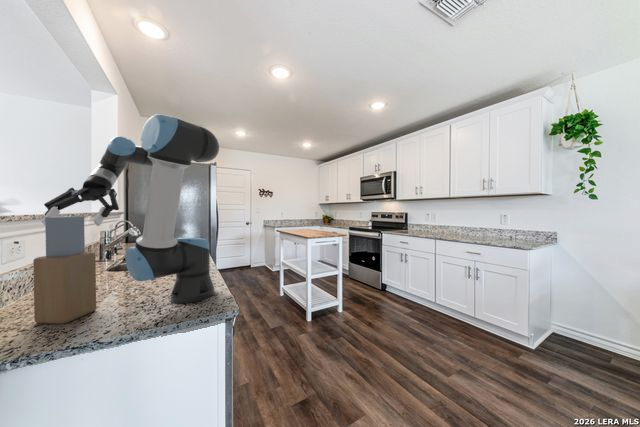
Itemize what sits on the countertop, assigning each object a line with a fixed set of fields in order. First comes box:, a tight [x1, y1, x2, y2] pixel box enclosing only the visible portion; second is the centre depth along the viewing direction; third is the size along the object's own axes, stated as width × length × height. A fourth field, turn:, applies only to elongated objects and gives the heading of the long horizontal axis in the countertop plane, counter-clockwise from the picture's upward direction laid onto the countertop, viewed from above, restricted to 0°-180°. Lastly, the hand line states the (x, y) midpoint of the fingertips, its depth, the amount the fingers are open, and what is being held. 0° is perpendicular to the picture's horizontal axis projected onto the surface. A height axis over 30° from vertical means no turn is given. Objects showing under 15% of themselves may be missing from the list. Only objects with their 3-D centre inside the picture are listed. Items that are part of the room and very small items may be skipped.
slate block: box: [44, 216, 86, 257], centre depth 74 cm, size 6×6×12 cm
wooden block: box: [32, 251, 97, 325], centre depth 74 cm, size 10×10×20 cm
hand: (71, 223), depth 76 cm, fingers open, 13 cm apart
